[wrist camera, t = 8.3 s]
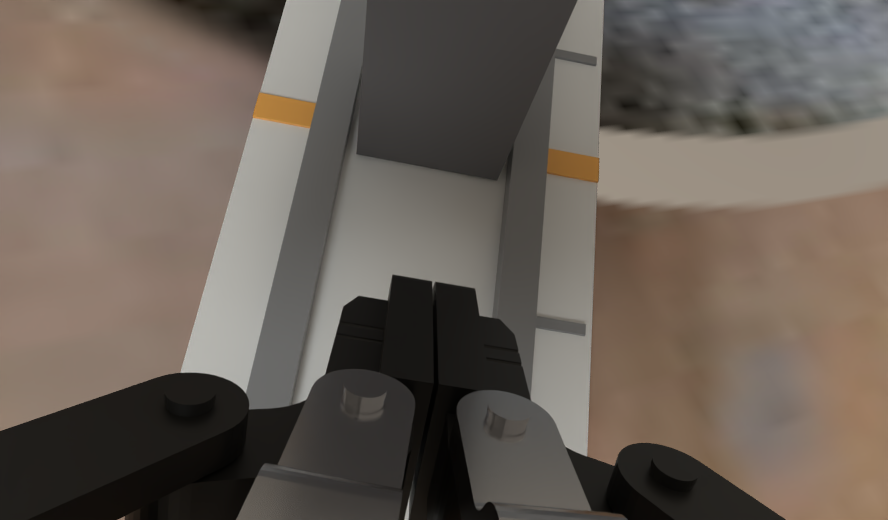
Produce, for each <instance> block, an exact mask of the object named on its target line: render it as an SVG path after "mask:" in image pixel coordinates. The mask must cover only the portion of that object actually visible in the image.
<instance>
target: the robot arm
mask: <svg viewBox="0 0 888 520" xmlns="http://www.w3.org/2000/svg"><path fill="white" fill-rule="evenodd" d="M521 364H522V362H521V358H520V354H519V353H518V346H517V342H516V338H515V334H514V333H513V332H512V331H511V330H510V329H509V328H508V327H507V326H506V325H505V324H504V323H503V322H502V321H501V320H500V319H496V318H490V317H484V316H479V309H478V303H477V297H476V290H475V288H470V287H464V286H458V285H453V284H447V283H441V282H435V283H434V286H433V290H432V281H428V280H423V279H417V278H411V277H405V276H399V275H393V274H392V279H391V284H390V289H389V295H388V300H382V299H376V298H370V297H364V296H357V297H356V298H355V299H353V300H352V301H350V302H349V303H347V304H346V305H344V306H343V309H342V313H341V317H340V321H339V324H338V328H337V332H336V336H335V339H334V343H333V347H332V351H331V354H330V358H329V362H328V365H327V369H326V373H325V375H323V376H322V377H320V378H319V379H318V380H317V381H316V382H315V383H314V384H313V386H312V388H311V390H310V393H309V395H308V397H307V399H306V400H304V401H302V402H300V403H297V404H294V405H290V406H285V407H280V408H268V409H249V399H248V397H247V394H246V393H245V392H244V391H243V389H242V388H240V387H239V386H238V385H237V384H235V383H233V382H232V381H230V380H227V379H225V378H222V377H219V376H215V375H211V374H205V373H175V374H169V375H164V376H161V377H157V378H154V379H151V380H148V381H146V382H143V383H140V384H137V385H134V386H131V387H128V388H125V389H122V390H119V391H116V392H113V393H110V394H108V395H105V396H102V397H99V398H96V399H93V400H90V401H87V402H84V403H81V404H78V405H75V406H72V407H70V408H67V409H64V410H61V411H58V412H55V413H52V414H49V415H46V416H43V417H40V418H37V419H34V420H32V421H29V422H26V423H23V424H20V425H17V426H14V427H11V428H8V429H5V430H2V431H0V520H118V519H120V518H122V517H124V516H125V520H404V519H405V514H406V510H407V505H408V500H409V520H786V519H784V518H783V517H781V516H780V515H778V514H777V513H775V512H774V511H772V510H771V509H769V508H768V507H766V506H765V505H763V504H762V503H760V502H759V501H757V500H756V499H754V498H753V497H751V496H750V495H748V494H747V493H745V492H744V491H742V490H741V489H739V488H738V487H736V486H735V485H733V484H732V483H730V482H729V481H728V480H726V479H725V478H723V477H722V476H720V475H719V474H717V473H716V472H714V471H713V470H711V469H710V468H708V467H707V466H705V465H704V464H702V463H701V462H699V461H698V460H696V459H694V458H693V457H691V456H689V455H687V454H685V453H683V452H680V451H678V450H676V449H673V448H670V447H667V446H663V445H658V444H651V443H637V444H632V445H629V446H627V447H625V448H623V449H622V450H621V451H620V453H619V455H618V457H617V460H616V463H615V466H612V465H610V464H607V463H604V462H601V461H598V460H596V459H593V458H590V457H587V456H584V455H582V454H579V453H577V452H575V451H573V450H571V449H569V448H567V447H565V445H564V443H563V440H562V438H561V435H560V433H559V430H558V428H557V426H556V423H555V422H554V420H553V418H552V417H551V416H550V414H549V413H548V412H546V411H545V410H544V409H543V408H542V407H540V406H539V405H538V404H536V403H534V402H532V401H531V398H530V394H529V390H528V386H527V382H526V378H525V374H524V370H523V366H521Z"/></svg>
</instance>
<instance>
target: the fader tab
mask: <svg viewBox="0 0 888 520" xmlns="http://www.w3.org/2000/svg"><path fill="white" fill-rule="evenodd" d="M577 1H578V0H367V8H366V23H365V37H364V51H363V66H362V80H361V94H360V108H359V123H358V137H357V151H356V154H358V155H363V156H368V157H374V158H379V159H384V160H390V161H395V162H400V163H406V164H411V165H416V166H422V167H427V168H432V169H438V170H443V171H448V172H454V173H459V174H464V175H470V176H475V177H480V178H486V179H491V180H496V181H497V180H498V178H499V175H500V173H501V171H502V169H503V166H504V164H505V162H506V160H507V157H508V155H509V153H510V151H511V149H512V146H513V144H514V142H515V140H516V137H517V135H518V133H519V131H520V128H521V126H522V124H523V122H524V119H525V117H526V115H527V113H528V110H529V108H530V106H531V104H532V101H533V99H534V97H535V95H536V92H537V90H538V88H539V86H540V83H541V81H542V79H543V77H544V75H545V72H546V70H547V68H548V66H549V63H550V61H551V59H552V57H553V54H554V52H555V50H556V48H557V45H558V43H559V41H560V39H561V36H562V34H563V32H564V30H565V27H566V25H567V23H568V21H569V18H570V16H571V14H572V12H573V10H574V7H575V5H576V3H577Z"/></svg>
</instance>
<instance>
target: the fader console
mask: <svg viewBox="0 0 888 520" xmlns="http://www.w3.org/2000/svg"><path fill="white" fill-rule="evenodd" d="M366 8H367V0H286V4H285V7H284V11H283V14H282V18H281V21H280V25H279V28H278V32H277V35H276V39H275V42H274V46H273V49H272V53H271V56H270V60H269V63H268V67H267V70H266V74H265V77H264V81H263V84H262V88H261V92H260V93H259V95H258V99H257V102H256V106H255V109H254V113H253V120H252V123H251V127H250V130H249V134H248V137H247V141H246V144H245V148H244V151H243V155H242V158H241V162H240V165H239V169H238V172H237V176H236V179H235V183H234V186H233V190H232V193H231V197H230V200H229V204H228V207H227V211H226V215H225V218H224V222H223V225H222V229H221V232H220V236H219V239H218V243H217V246H216V250H215V253H214V257H213V260H212V264H211V267H210V271H209V274H208V278H207V281H206V285H205V288H204V292H203V295H202V299H201V302H200V306H199V309H198V313H197V316H196V320H195V323H194V327H193V330H192V334H191V337H190V341H189V345H188V348H187V352H186V355H185V359H184V362H183V366H182V369H181V373H205V374H211V375H215V376H219V377H222V378H225V379H227V380H230V381H232V382H233V383H235V384H237V385H238V386H239V387H240V388H242V389H243V391H244V392H245V393H246V394H247V397H248V399H249V409H268V408H280V407H285V406H290V405H294V404H297V403H300V402H302V401H304V400H306V399H307V397H308V395H309V393H310V390H311V388H312V386H313V384H314V383H315V382H316V381H317V380H318V379H319V378H320V377H322V376H323V375H325V373H326V369H327V365H328V362H329V358H330V354H331V351H332V347H333V343H334V339H335V336H336V332H337V328H338V324H339V321H340V317H341V313H342V309H343V306H344V305H346V304H347V303H349V302H350V301H352V300H353V299H355V298H356V297H357V296H364V297H370V298H376V299H382V300H388V295H389V289H390V284H391V279H392V274H393V275H399V276H405V277H411V278H417V279H423V280H428V281H432V290H433V286H434V283H435V282H441V283H447V284H453V285H458V286H464V287H470V288H475V290H476V297H477V303H478V309H479V316H484V317H490V318H496V319H500V320H501V321H502V322H503V323H504V324H505V325H506V326H507V327H508V328H509V329H510V330H511V331H512V332H513V333H514V334H515V338H516V342H517V346H518V353H519V354H520V358H521V362H522V364H521V366H523V370H524V374H525V378H526V382H527V386H528V390H529V394H530V398H531V401H532V402H534V403H536V404H538V405H539V406H540V407H542V408H543V409H544V410H545V411H546V412H548V413H549V414H550V416H551V417H552V418H553V420H554V422H555V423H556V426H557V428H558V430H559V433H560V435H561V438H562V440H563V443H564V445H565V447H567V448H569V449H571V450H573V451H575V452H577V453H579V454H582V455H584V456H587V445H588V418H589V392H590V365H591V338H592V311H593V284H594V257H595V231H596V204H597V183H598V180H599V158H598V148H599V123H600V96H601V70H602V43H603V16H604V0H578V1H577V3H576V5H575V7H574V10H573V12H572V14H571V16H570V18H569V21H568V23H567V25H566V27H565V30H564V32H563V34H562V36H561V39H560V41H559V43H558V45H557V48H556V50H555V52H554V54H553V57H552V59H551V61H550V63H549V66H548V68H547V70H546V72H545V75H544V77H543V79H542V81H541V83H540V86H539V88H538V90H537V92H536V95H535V97H534V99H533V101H532V104H531V106H530V108H529V110H528V113H527V115H526V117H525V119H524V122H523V124H522V126H521V128H520V131H519V133H518V135H517V137H516V140H515V142H514V144H513V146H512V149H511V151H510V153H509V155H508V157H507V160H506V162H505V164H504V166H503V169H502V171H501V173H500V175H499V178H498V180H497V181H496V180H491V179H486V178H480V177H475V176H470V175H464V174H459V173H454V172H448V171H443V170H438V169H432V168H427V167H422V166H416V165H411V164H406V163H400V162H395V161H390V160H384V159H379V158H374V157H368V156H363V155H358V154H356V151H357V137H358V123H359V108H360V94H361V80H362V66H363V51H364V37H365V23H366ZM404 520H409V500H408V505H407V510H406V514H405V519H404Z"/></svg>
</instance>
